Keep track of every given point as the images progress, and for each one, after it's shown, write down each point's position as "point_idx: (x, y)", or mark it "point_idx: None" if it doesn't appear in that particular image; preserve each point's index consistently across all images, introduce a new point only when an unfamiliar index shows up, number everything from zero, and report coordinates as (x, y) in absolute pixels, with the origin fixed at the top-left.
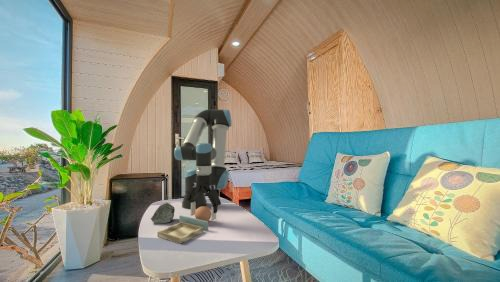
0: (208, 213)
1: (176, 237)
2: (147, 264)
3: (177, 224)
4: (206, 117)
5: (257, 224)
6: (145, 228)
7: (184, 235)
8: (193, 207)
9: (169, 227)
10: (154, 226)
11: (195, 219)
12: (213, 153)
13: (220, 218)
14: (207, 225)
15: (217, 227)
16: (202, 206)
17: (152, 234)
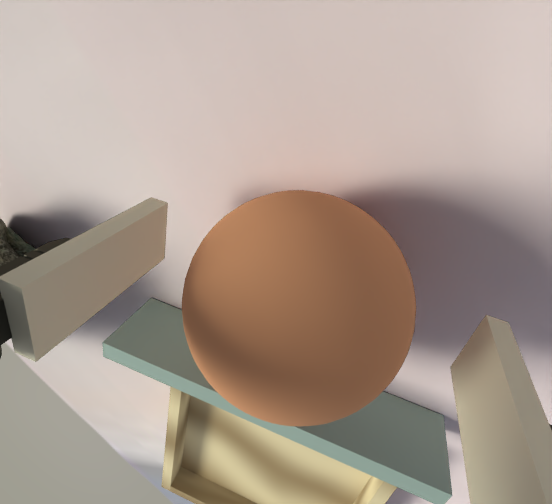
0: (393, 378)
1: None
2: None
3: (180, 405)
4: None
5: None
6: (45, 374)
7: (308, 487)
8: (98, 282)
9: (172, 446)
10: (55, 350)
11: (293, 440)
12: None
13: (523, 54)
14: (443, 465)
15: (530, 361)
16: (249, 391)
17: (135, 437)
